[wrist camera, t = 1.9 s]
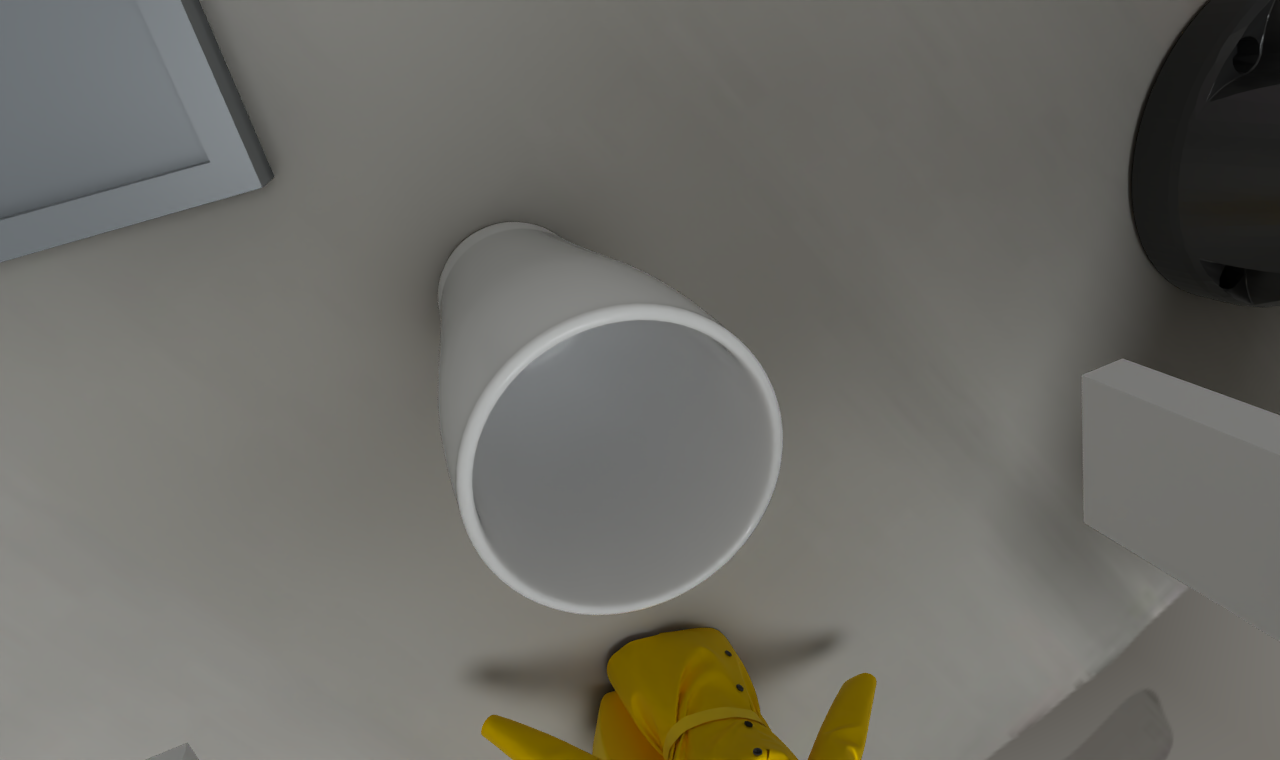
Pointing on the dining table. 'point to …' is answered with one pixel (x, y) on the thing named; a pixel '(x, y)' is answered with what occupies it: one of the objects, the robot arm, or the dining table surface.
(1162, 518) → the robot arm
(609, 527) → the drinking glass
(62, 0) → the tray
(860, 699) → the figure statuette
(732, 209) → the dining table surface
